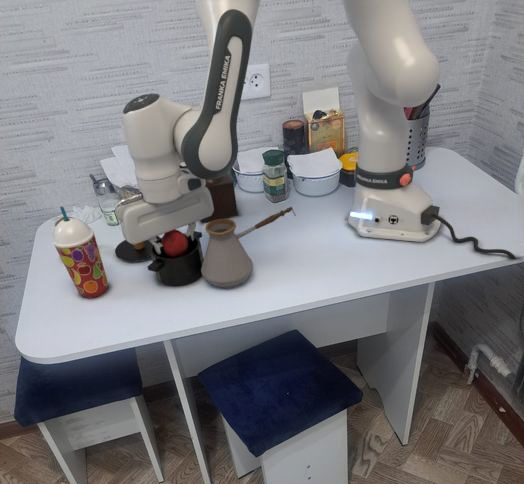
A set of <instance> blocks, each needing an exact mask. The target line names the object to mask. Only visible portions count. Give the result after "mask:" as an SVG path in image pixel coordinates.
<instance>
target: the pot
mask: <svg viewBox="0 0 524 484" xmlns="http://www.w3.org/2000/svg"><path fill="white" fill-rule="evenodd" d="M182 233H183V232H182ZM184 233H185V232H184ZM184 233H183V234H184ZM193 237H194V241H192V242H189V243H188V249H187V251H186V253H185V254H184V255H183V256H181V257H176V258H171V257H169V256H167V255H166V254H165V253H161V254H158V253H157V252H156V250H155V247H154V245H153V244H152V245H151V247H150V255H151V258H150V259H151V261H152V262H151V263H149V264H148V265H147V270H148V271H150V272H153V273H155V275H156V279H157V280H158V282H159V283H160V284H162V285H164V286H166V287H167V286H168V287H174V288H175V287H178V288H179V287H185V286H188V285H191V284H194V283H195V282H197V281H199V280H200V279H202V278H203V275H202V273H201V268H202V264H203V260H204V254H203V253H204V252H203V248H202V243H201V240H200V239H201V238H202V237H203V232H201V231H197V230H195V231H194V234H193ZM161 241H162V237H160V239H158V240H157V241H155V243H161Z"/></svg>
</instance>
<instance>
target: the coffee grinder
mask: <svg viewBox="0 0 524 484" xmlns="http://www.w3.org/2000/svg"><path fill="white" fill-rule="evenodd" d="M179 166H180V168H181V169H188V168H187V166H186V165H181V164H180V165H179ZM205 181H206V184H205V187H206V188H208V190H209V192H210V195H211V198H212V202H213V207H214V211H213V213H212V215H211V216H209V217H206V218H204V219H201V220H199V221H200V222H201V223H202V224H206V223H209V222H211V221H214V220H217V219H230V218H232V217H236V216H238V215H239V213H238V206H237V197H236V192H235V184H234V182H233V179H232V178H231V177H230V175H229V172H228V173H226V174H225V175H224V176H222V177H220V178H217V179H213V180H205Z"/></svg>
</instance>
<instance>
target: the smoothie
mask: <svg viewBox="0 0 524 484" xmlns="http://www.w3.org/2000/svg"><path fill="white" fill-rule="evenodd" d="M59 209H60V212H61V214H62V217H64V220H62V221H61V222H59V223H58V224H57V226H55V227H54V230H53V233H52V234H53V235H52V236H53V237H52V241H51V242H52V244H53V246H54V247H55V249H56V251H57V254H58V255H59V258H60V259H61V261H62V263H63V265H64V267H65V269H66V271H67V273H68V275H69V277H70V279H71V282H72V283H73V285H74V287H75V289H76V291H77V292H78V293H79V294H81V295H82V297H84V298H89V299H91V298H97V297H99V296H101V295H103V294H104V293H105V292H106V291H107V290H108V285H109V280H108V277H107V274H106V271H105V270H106V269H105V267H104V264H103V260H102V256H101V253H100V249H99V245H98V243H97V239H96V235H95V231H94V229H93V228H92V227H90V226H89V225H88V224H87V223H86V222H85V221H83V220H81V219H78V218H75V217H73V218H67V217H68V215H67V213H66V210H65V207H64V206H60V207H59Z"/></svg>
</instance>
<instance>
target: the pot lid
mask: <svg viewBox="0 0 524 484" xmlns="http://www.w3.org/2000/svg"><path fill="white" fill-rule="evenodd" d="M160 238H161V236H160V235H159V236H156V239H157V240H158V239H160ZM154 242H155V241H154ZM151 245H152V243H151V242H150V241H148V240H146V241H143V242H140V243H138V244H135V245H133V244H131V243H129V242H128V241H127V240H126V239H124V240H121V242H119V243H118V244H117V246H116V247H115V249H114V254H115V256H116V257H117V258H118V260H121V261H125V262H142V261H145V260H148V259H152V258H151V255H150V247H151Z"/></svg>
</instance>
